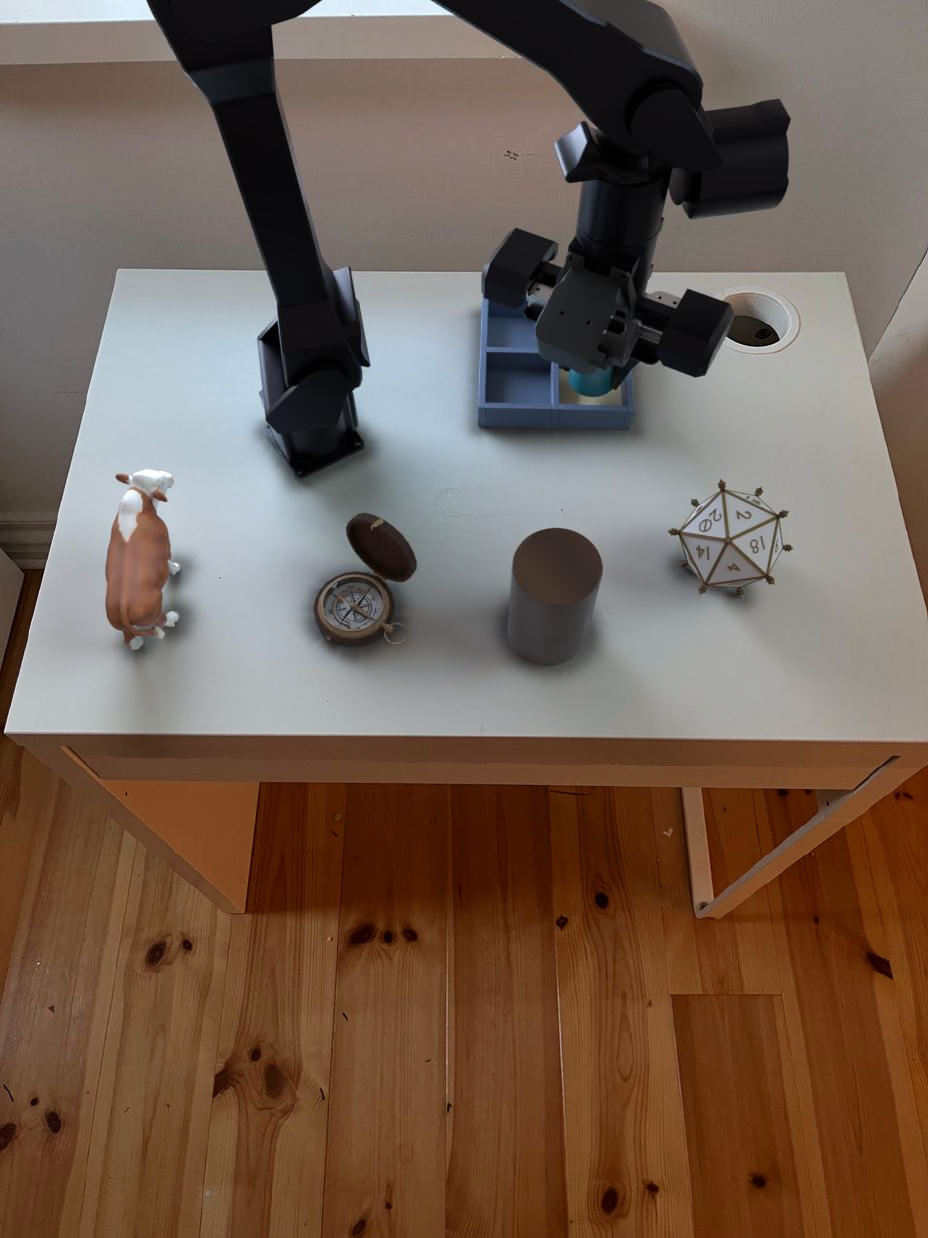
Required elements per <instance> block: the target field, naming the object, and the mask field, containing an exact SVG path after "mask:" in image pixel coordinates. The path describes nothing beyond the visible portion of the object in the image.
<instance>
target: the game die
mask: <svg viewBox="0 0 928 1238" xmlns="http://www.w3.org/2000/svg"><path fill="white" fill-rule="evenodd" d="M726 483H727V482H726V481H724V480H723V479H722V478H720V479H719V481H718V483H717V486H718V489H719V491H718V492H717V491H716V493H714V494H712V495H711V496H710V497H708V498H707V499H705V500H703V501H701V502H699V500H698V499H697V498H691V499H690V505H691V506H693V507H694V510H692V512H691V514H690V515H689V517H687V519H686V521H685V522H684V523H683V525H682V526H681V527H680V529H679V530H678V529H677V528H674V527H672V528H670V529H668V530H667V532H668V533H669V535H670V537H671V536H674V537H675V536H678V537H679V541H680V544H681V547H682V550H683V552H684V556H685V559H683V560H680V563H679V567H681V568H686V567H688V565H689V566H690V568H691V570H693V572H694V574H695V575H696V576H697V577H698V579H699V580H700V582H701V583H702V585H700V586H699V588H698V589H697V590H698V592H699V594H698V595H699V596H701V595H703V594H706V592H707V591H708V587H716V588H729V589H736V591H735V592H736V595H737V596H739V598H742V597H743V595H744V594H745V592H744V590H745V589H743V588H744V587H746V586H749V585H751V584H754V583H756V582H759V581H761V580H764V579H765V582H766V583H767V584H768V585H773V586H775V585H776V581H775V579H776V578H774V577H773V576H772V575H770V573H771V571H772V570H773V568H774V567H775V564H776V562H777V560H778V559H779V557H780V555H781V553H782V551H784V552H788V553H790V551H792V550H794V549H795V548H794V547H793V546H792V545H791V544H790V543H789V544H788V543H787V544H784V540H783V534H782V528H781V527H782V526H781V520H780V519H785V518H787V517H788V515H789V512H790V510H785V509H782V511H779V512H778V513H777V512H776V511H774V510H773V508H771V506H769V505H768V504H767V503H766V502H765V501H764V500H763V499H761V495H762V494H763V493H764V491H763V486H760V487H758V488H757V487H756V488H755V490H754V494H751V493H745V492H741V491H735V490H730V489H726V487H727V485H726Z"/></svg>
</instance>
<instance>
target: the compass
mask: <svg viewBox="0 0 928 1238" xmlns="http://www.w3.org/2000/svg"><path fill="white" fill-rule="evenodd" d="M345 534H346V538H347V541H348V543H349V545H350V547H351V549H352V550H353V551H354V553H355V554H356V556H357V557H358V558H359V559H360V561H361V562H362V563H363V564H365V565H366V566H367V567H368V568H369V569H370V570H372V572H371V573H369V572H364V571H348V572H344V573H341V574H338V575H335V576H334V577H333V578H331V579H330V580H328V581H327V582H326V583H324V584H323V586H322V587H321V588H320V589H319V591H318V593H317V595H316V597H315V599H314V604H313V615H314V619H315V624H316V625H317V627H318V628H319V630H320V632H321V633H322V635H324V636H325V637H326V638H325V639H327V640H328V641H329V642H330V641H332V642H334V643H336V644H338V645H342V646H348V647H358V646H365V645H367V644H370V643H373V642H374V641H376V640H378V639H379V638H380V637H382V636H383V637H384V639H385V641H386V642H388V644H391V645H394V646H395V645H398V646H399V645H401V644H403V643H405V642H406V641H407V639H408V638H409V636H410V634H409V633H410V631H409V628H408V626H406V625H405V624H404V623H402V622H393V621H394V618H395V610H396V603H395V599H394V595H393V591H392V590H391V589H390V587H389V586H388V584H387V583H386V582H387V580H388V581H391V582H395V583H405V582H406V581H409V580H410V578H412V576H413V575H415V573H416V571H417V569H418V560H417V556H416V553H415V551H414V550H413V548H412V546H411V544H410V543H409V541H408V540H407V539H406V537H405V536H404V535H403V533H401V532H400V531H399V529H397V528H396V527H395V526H394V525H393V524H391V523H390V522H389V521H387V520H385V519H384V518H382V517H381V516H379V515H376V514H372V513H368V512H359V513H357V514H355V515H354V516H353V517H351V519H349V520H348V521H347V524H346V526H345ZM395 625H398V626H399V625H400V626H402V627H403V628H404V629H405V631H406V636H405V638H404V639H403V640H401V641H399V642H393V641H390V640H389V639H388V637H387V633H389V634H393V633H394V630H395V628H394V627H393V626H395Z"/></svg>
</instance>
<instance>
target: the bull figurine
mask: <svg viewBox="0 0 928 1238" xmlns="http://www.w3.org/2000/svg"><path fill="white" fill-rule="evenodd" d="M115 479H116V480H117V482H120V483H121V484H125V485H129V489H128V490H127V491H126V492H125V493H124V495H123V496H122V497H121V501H120V504H119V506H118V511H117V513H116V516H115V517H114V521H113V523H112V525H111V529H110V537H109V538H110V539H109V543H108V545H107V550H106V551H107V552H106V560H105V568H104V569H105V570H104V571H105V581H106V592H105V593H106V594H105V602H104V606H105V612H106V618H107V621H108V622H109V624H110V626H111V627H112V628H113V629H115V630H117V631H120V632H122V634H123V639H124V643H125V644H126V645H129V646H130V650H132V651H134V650H138V649H140V647H142V646H143V645H144V643H145V640H144V636H147V635H150V636H151V637H154V638H157V639H159V640H163V638H165V635H166V633H165V631H164V630H163V628H164V627H166V628H171V627H176V626H175V623H177V622H178V621H179V619H180V614H179V612H177V611H175V610H170V611H169V612H167V613H165V612H163V602H164V601H163V600H164V595H163V591H162V590H163V588H164V587H165V586H166V584H167V583H168V580H169V577H170V575H173V576H175V575H176V574H177V573H179V572H180V571H181V568H182V567H181V564H179V563H178V562H174V561H172V557H173V556H172V552H171V548H172V547H171V541H170V534H169V529H168V526H167V524H166V522H165V521H164V520H163V519H162V518H161V517H160V516H159V515H158V511H157V508H158V503H159V502H164V503H167V502H168V501H169V500H168V498H167V496H166V495H167V492H168V489H171V488H172V487H173V486H174V482H175V481H174V479H173V475H172V474H170V473H169V472H166V471H163V470H162V471H157V470H154V469H143V470H140V471H137V472H134V473H133V475H132V476H131V475H130V474H127V473H117V474H115ZM152 625H153V626H152ZM134 626H135V627H140V628H145V627H149V626H152V627H151V628H146V629H141V630H139V629H136V628H135V627H134Z"/></svg>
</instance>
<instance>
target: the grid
mask: <svg viewBox="0 0 928 1238" xmlns="http://www.w3.org/2000/svg"><path fill="white" fill-rule="evenodd" d="M528 303H529V296H528V295H527V298H526V301H525V303H524V304H523V305H522V306H520V307H517V308H515V309H512V308H509V307H506V306H504V305H501V304H498V303H496V302H493V301H490V300H488V299H485V298H484V296H483V295H482V296H481V317H480V346H479V371H478V372H479V373H478V397H477V398H478V400H477V427H494V428H495V427H497V428H498V427H499V428H537V429H538V428H539V429H540V428H541V429H542V428H543V429H583V430H584V429H585V430H589V429H590V430H592V429H593V430H631V427H632V423H633V418H634V413H635V401H634V400H635V399H634V386H633V384H634V383H633V369H632V370H631V371H630V372H629V374H628V375H627V377H626V378H625V379H624V380H623V382H622V383H621V384H620V386H619V387H618V388H617V390H613V389H612V390H611V391H610V392H609V393H607V394H606V395H603V396H600V397H586V396H583V395H581V394H579V393H577V392H576V391H574V390H573V389H572V387H571V386H570V384H569V380H568V376H569V371H568V372H567V371H565V370H564V369H563V366H562V365H560V364H557V363H554V362H549V361H547V360H544V359H543V358H542V357H541V356H540V354H539V352H538V346H537V341H536V336H535V325H536V322H534V321H531V320H529V319H527V318H526V317H525V316H524V310H525V308H526V307H527V305H528Z"/></svg>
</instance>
